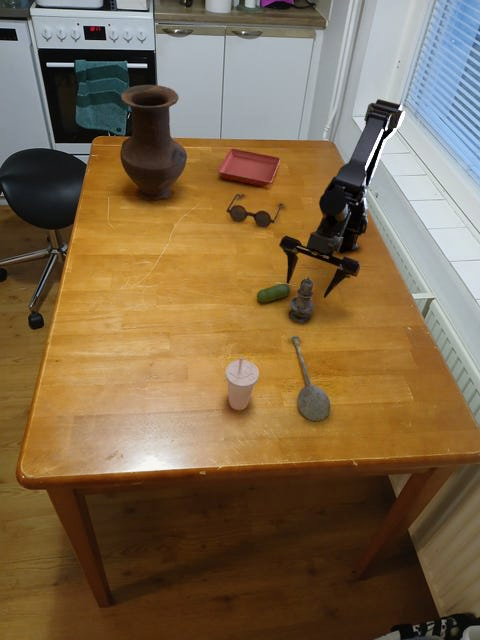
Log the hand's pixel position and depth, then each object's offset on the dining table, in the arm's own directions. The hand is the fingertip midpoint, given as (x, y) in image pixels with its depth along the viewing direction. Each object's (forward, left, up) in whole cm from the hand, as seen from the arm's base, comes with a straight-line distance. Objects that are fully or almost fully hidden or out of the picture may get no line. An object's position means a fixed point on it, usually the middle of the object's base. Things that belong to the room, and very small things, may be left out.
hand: (305, 290), depth 113 cm
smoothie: (+25, +17, -8) cm, 31 cm away
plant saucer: (-20, -66, -8) cm, 69 cm away
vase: (+14, -64, -8) cm, 66 cm away
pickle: (+3, -8, -8) cm, 12 cm away
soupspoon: (+9, +17, -8) cm, 21 cm away
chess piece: (0, 0, -8) cm, 8 cm away
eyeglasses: (-11, -44, -8) cm, 46 cm away
